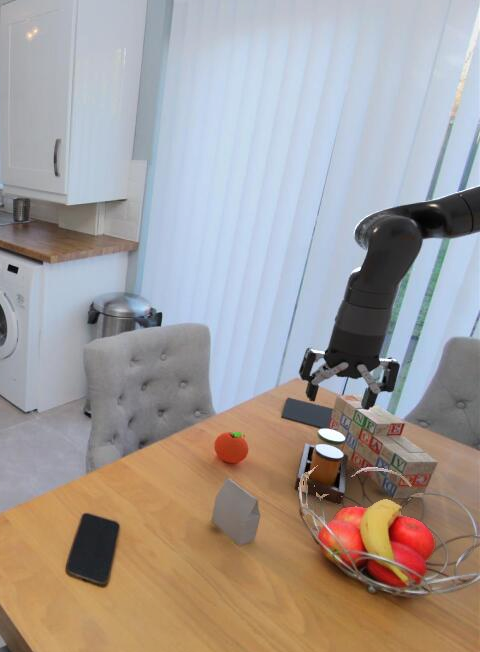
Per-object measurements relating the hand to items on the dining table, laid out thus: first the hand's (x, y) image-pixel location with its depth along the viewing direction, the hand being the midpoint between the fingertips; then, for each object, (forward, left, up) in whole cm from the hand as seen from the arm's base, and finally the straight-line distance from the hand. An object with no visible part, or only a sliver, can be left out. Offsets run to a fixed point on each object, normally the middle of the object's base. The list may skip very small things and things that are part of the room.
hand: (337, 403), depth 92 cm
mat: (+2, -35, -22) cm, 41 cm away
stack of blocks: (-9, -18, -22) cm, 30 cm away
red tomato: (+16, -3, -22) cm, 27 cm away
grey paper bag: (+11, +20, -22) cm, 32 cm away
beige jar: (-1, -10, -22) cm, 24 cm away
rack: (-1, -7, -22) cm, 23 cm away
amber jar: (-1, -3, -22) cm, 22 cm away
